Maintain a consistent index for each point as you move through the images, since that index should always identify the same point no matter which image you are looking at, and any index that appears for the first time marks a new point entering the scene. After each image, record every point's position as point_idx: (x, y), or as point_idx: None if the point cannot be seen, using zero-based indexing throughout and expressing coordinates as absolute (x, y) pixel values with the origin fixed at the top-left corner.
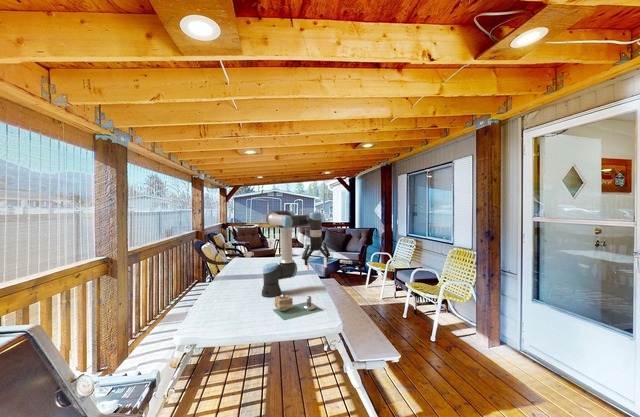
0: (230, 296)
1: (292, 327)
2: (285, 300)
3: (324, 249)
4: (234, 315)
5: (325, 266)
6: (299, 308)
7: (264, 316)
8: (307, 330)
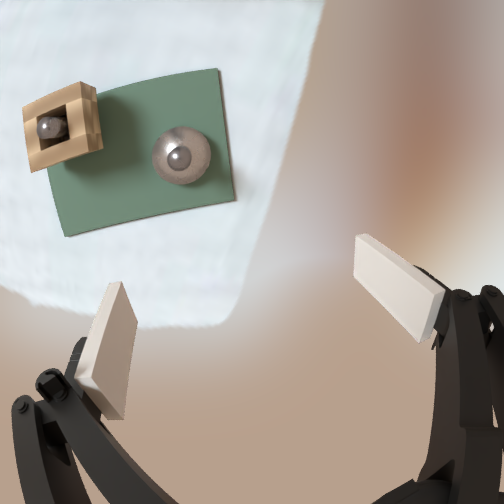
0: None
1: (89, 288)
2: (56, 162)
3: None
4: None
5: (359, 270)
6: (140, 135)
7: (13, 168)
8: None
